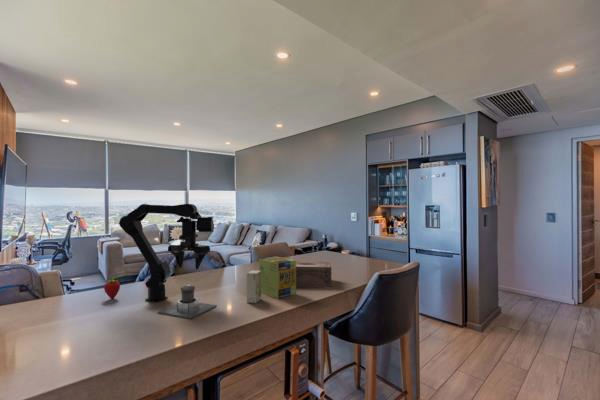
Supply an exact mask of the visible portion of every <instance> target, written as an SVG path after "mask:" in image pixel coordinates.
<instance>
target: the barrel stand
mask: <svg viewBox="0 0 600 400" xmlns="http://www.w3.org/2000/svg"><path fill="white" fill-rule="evenodd" d="M217 307H218V305H217V304H210V303H203V302H200V299H199V298H198V297H195V296H194V302H190V303H182V298H180V299H177V301H176V303H175V304H173V305H171V306H168V307H166V308H163V309H161V310H158V311H157V314H161V315H165V316H172V317H177V318H181V319H182V318H183V319H188V320H193V319H194V318H197V317H199V316H200V315H203V314H205V313H207V312H209V311H211V310H213V309H214V308H217Z"/></svg>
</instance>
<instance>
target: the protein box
mask: <svg viewBox="0 0 600 400" xmlns="http://www.w3.org/2000/svg"><path fill="white" fill-rule="evenodd" d="M296 261H297V260H296V259H291V258H287V257H281V256H271V257H270V256H269V257H261V258H259V259H258V271H261V294H262V293H263V294H265V295H268V296H270V297H273V298H275V299H278V300H279V299H283V298H286V297H290V296H295V295H297V286H296Z"/></svg>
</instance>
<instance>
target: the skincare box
mask: <svg viewBox="0 0 600 400" xmlns="http://www.w3.org/2000/svg"><path fill="white" fill-rule="evenodd" d="M261 299H262V292H261V271H259V270H255V269H254V270H250V271H249V272H247V273H246V303H250V304H251V303H252V304H253V303H254V304H256V303H259V301H261Z"/></svg>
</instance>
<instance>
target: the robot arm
mask: <svg viewBox="0 0 600 400" xmlns="http://www.w3.org/2000/svg"><path fill="white" fill-rule="evenodd" d="M148 214H161V215H162V214H163V215H165V214H167V215H168V214H169V215H175V216H179V217H180V218H178V219H177V220H176V222H177V223H181V234H179V236H178V237H179V238H178V239H176V240H174V241H173V242H172V243H170V244H169V245H168V247H167V252H169V254H171V255H172V256H174V257H175V261H176V263H177V265H178V267H179V269H181V268H183V264H184V257H185V251H189V252H193V253H194V254H192V255H193V257H194V259H195V261H194V263H195V270H199V268H200V266H201V264H202V262H203V260H204V258H205V257H206V255H208V254H209V253H211V248H210V246H209V245H204V244H203V245H199V244H198V243H197V237H198V236H199V234H197V231H198V232H199V233H214V231H215V223H214V219H213V218H214V217H213V216H208V217H202V215H201V214H200V213H199V212H198V208H197V206H196V205H195V204H194V203H182V204H177V205H162V204H159V205H158V204H148V203H141V204H140V205H139V206H138V207H137V208H135V209H133V210H131V211H130V212H129V213H127V214H126V215H123V216H122V217H121V218H120V219H119V222H118V225H119V227H120V228H121V229H122V230H123V232H124V233H126V234H127V235H128V236H130V237H131V238H132V240H133V241H134V243H135V245H136V247H137V248H138V250H139V251H140V253H141V255H142V256H143V258H144V260H145V261H146V263H147V265H148V270H149V272H148V273H149V275H150V278H149V279H147V281H146V282H145V287H146V288H148V289H147V290H148V291H147V297H148V298H145V299H144V301H146V302H153V303H157V302H160V301H164V300H166V299H168V298H169V297H168V296H167V295H166V286H165V285H166V284H165V283H166V282H167V280H168V279H169V278H170V277H171V274H172V271H171V269H172V267H170V266H169V263H168V261H167V260H165V261H162V260H161V259H160V258H159V257H158V255H157V252H155V250H154V248H153V246H152V245H151V243H150V242H149V240H148V238H147V237H146V235H145V233H144V231H143V230H144V229H143V224H142V221H143V220H145V218H146V217H147V216H148Z"/></svg>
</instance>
